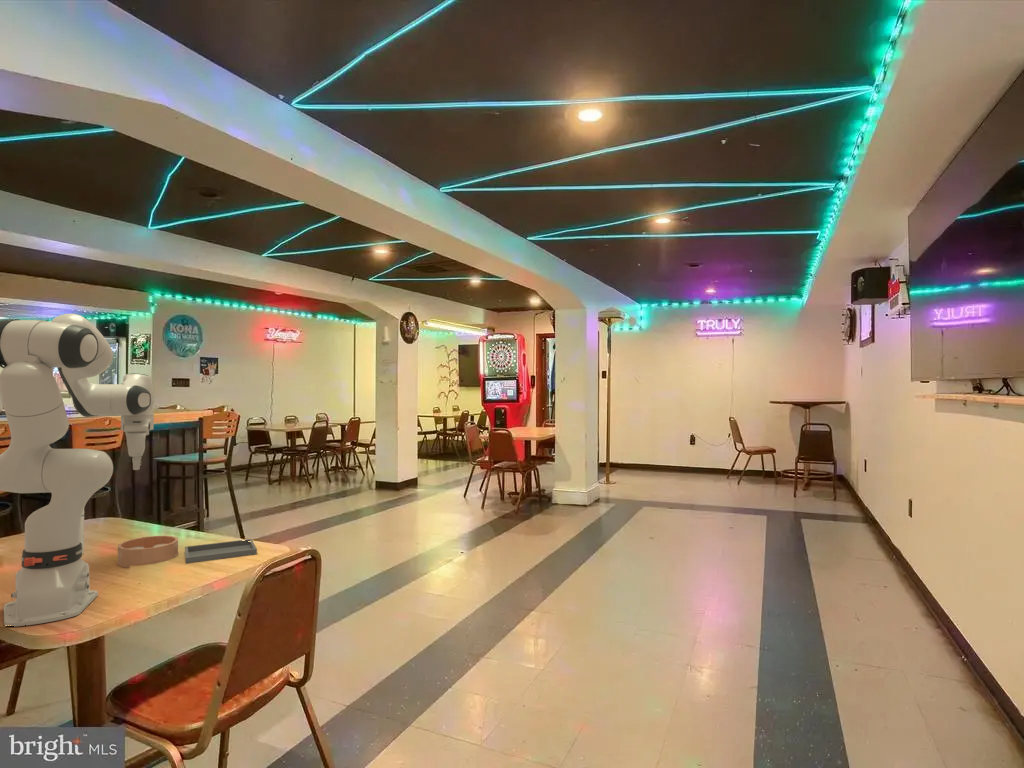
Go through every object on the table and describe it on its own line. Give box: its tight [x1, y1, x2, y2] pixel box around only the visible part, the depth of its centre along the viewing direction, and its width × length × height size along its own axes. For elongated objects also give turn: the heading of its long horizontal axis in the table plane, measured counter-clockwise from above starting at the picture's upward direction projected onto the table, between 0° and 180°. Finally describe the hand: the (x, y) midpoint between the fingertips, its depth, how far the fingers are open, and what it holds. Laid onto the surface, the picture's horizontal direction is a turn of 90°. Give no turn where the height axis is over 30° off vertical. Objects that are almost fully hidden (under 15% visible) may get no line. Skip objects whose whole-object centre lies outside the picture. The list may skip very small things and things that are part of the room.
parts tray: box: [184, 538, 258, 565], centre depth 188 cm, size 14×20×2 cm
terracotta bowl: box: [117, 535, 179, 568], centre depth 183 cm, size 16×16×6 cm
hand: (137, 467), depth 185 cm, fingers open, 8 cm apart
